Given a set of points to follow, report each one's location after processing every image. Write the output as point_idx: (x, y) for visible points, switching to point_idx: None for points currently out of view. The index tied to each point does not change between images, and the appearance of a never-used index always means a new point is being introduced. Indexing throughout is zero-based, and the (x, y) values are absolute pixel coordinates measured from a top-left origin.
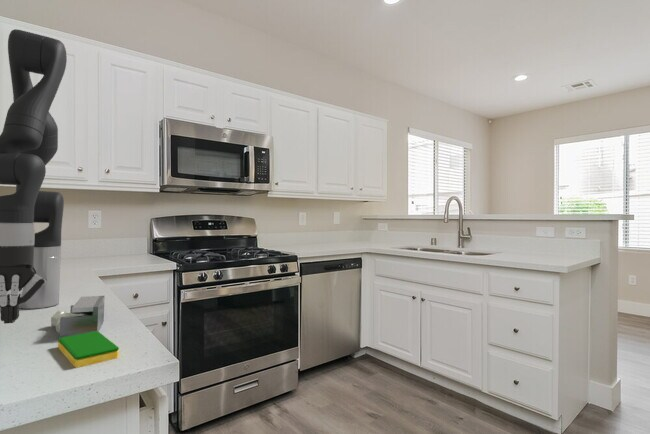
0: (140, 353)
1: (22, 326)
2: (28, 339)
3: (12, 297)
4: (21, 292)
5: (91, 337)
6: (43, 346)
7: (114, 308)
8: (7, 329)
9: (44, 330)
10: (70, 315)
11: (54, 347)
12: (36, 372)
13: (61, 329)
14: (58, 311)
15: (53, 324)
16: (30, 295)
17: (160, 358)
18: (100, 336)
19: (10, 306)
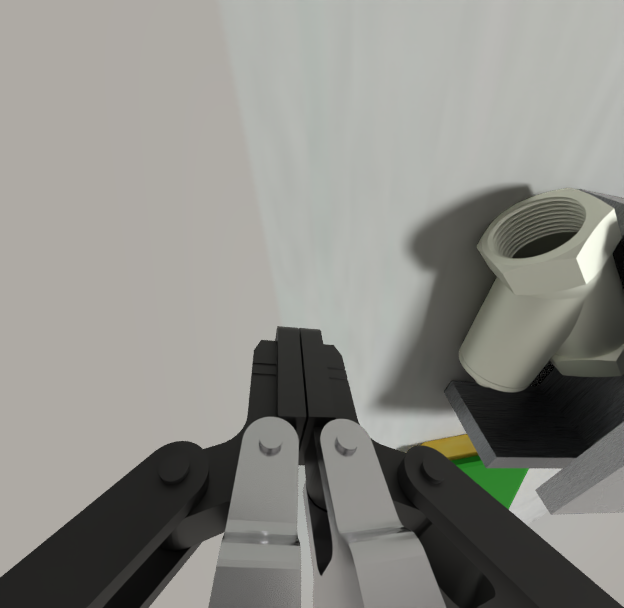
0: (526, 497)
1: (340, 104)
2: (360, 365)
3: (324, 552)
4: (406, 543)
5: (494, 486)
6: (391, 430)
7: None
8: (258, 148)
9: (430, 270)
10: (576, 336)
11: (413, 442)
12: None
13: (465, 421)
14: (575, 265)
15: (485, 258)
16: (450, 559)
17: (532, 514)
18: (513, 484)
19: (304, 462)
